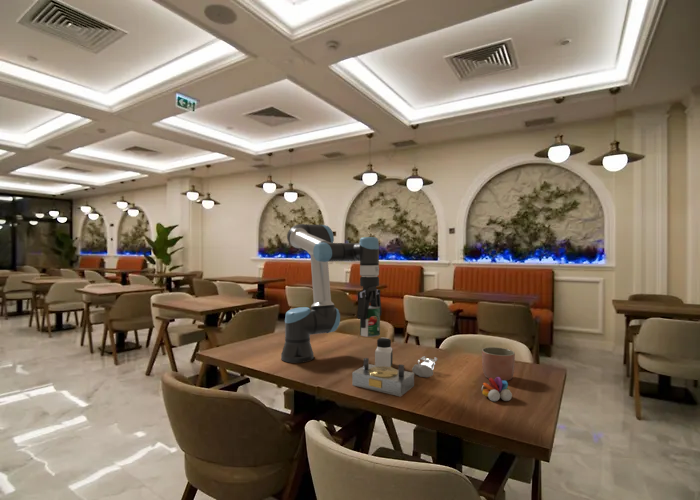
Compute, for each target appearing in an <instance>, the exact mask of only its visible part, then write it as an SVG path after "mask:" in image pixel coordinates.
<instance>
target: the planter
mask: <svg viewBox="0 0 700 500" xmlns="http://www.w3.org/2000/svg"><path fill="white" fill-rule="evenodd" d="M515 358H516V353H515V351H514V350H512V349H508V348H505V347H504V348H503V347H495V346H491V347H484V348H482V349H481V362H482V363H481V364H482V372H483V375H484V376H485V377H486V378H487V379H489V378H492V379H493V380H495V378H496V377H500V378H501V380H502V381H507V382H508V381H510V380H512V379H513V377H514V374H515V360H516V359H515Z"/></svg>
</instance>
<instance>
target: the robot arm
mask: <svg viewBox="0 0 700 500" xmlns="http://www.w3.org/2000/svg"><path fill="white" fill-rule="evenodd" d="M333 232H334V231H332V229H331V228H330V226H328V225H326V224H311V223H310V224H307V223H306V224H305V223H299V224H295V225H294V226H292V227H291V228H290V229H288V232H287V234H286V240H287V242H288V244H289V245H290V246H292V247H293V248H295V249H302V250H303V251H304V250H305V251H306V252H307V254H309V255H310V266H311V267H310V269H311V283H312V295H313V296H312V297H313V298H312V299H313V303H312V304H311V306H310V307H307V306H302V307H301V306H300V307H295V308H291V309H289V310H287V311H286V312H285V318H284V328H285V329H284V345H283V348H282V352H281V355H280V358H281V360H282V361H283V362H286V363H289V364H292V363H293V364H299V363H300V364H302V363H306V362H310V361H312V360H314V350H313V347H312V344H311V335H320V334H329V333H332V332H333V333H334V332H336V331H337V330H338V327H339V326H340V323H341V312H340V310H339V309H338V308H337V307H335V303H334V302H333V301H332V295H331V284H330V283H331V281H330V272H329V263H330V262H359V276H360V277H359V283H360V284H359V285H360V286H359V287H362V290H361V291H359V292H358V293H357V294H358V295H357V297H358V299H357V300H358V303H357V317H356V318H357V319H358V320H360V319H361V335H360V337H365V336H366V338H369V337H368V319H367V314H368V308H369V306H374V307H377V306H380V317H381V316H382V314H383V313H382V303H381V302H382V301H381V300H382V299H381V289H377V287H379V286H380V277H379V275H380V245H379V238H377V237H375V236H365V237H360V239H359V242H355V243H354V242H335V241H334V240H335V239H334V238H335V236H334V233H333Z"/></svg>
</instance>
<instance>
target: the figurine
mask: <svg viewBox="0 0 700 500" xmlns="http://www.w3.org/2000/svg"><path fill="white" fill-rule="evenodd" d="M433 358H434V359H433ZM433 358H427V355H425V356H422V357H419V359H418V360H417V363H418V364H414V365H413V367H412V370H411V372H412V373H414V375H416V376H418V377H421V378H431V377H432V376H433V375H434V371H433V370H434V368H435V365H436V363H435V362H437V361H438V358H437V357H433ZM420 360H422V362H421V361H420ZM420 362H421V363H420Z"/></svg>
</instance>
